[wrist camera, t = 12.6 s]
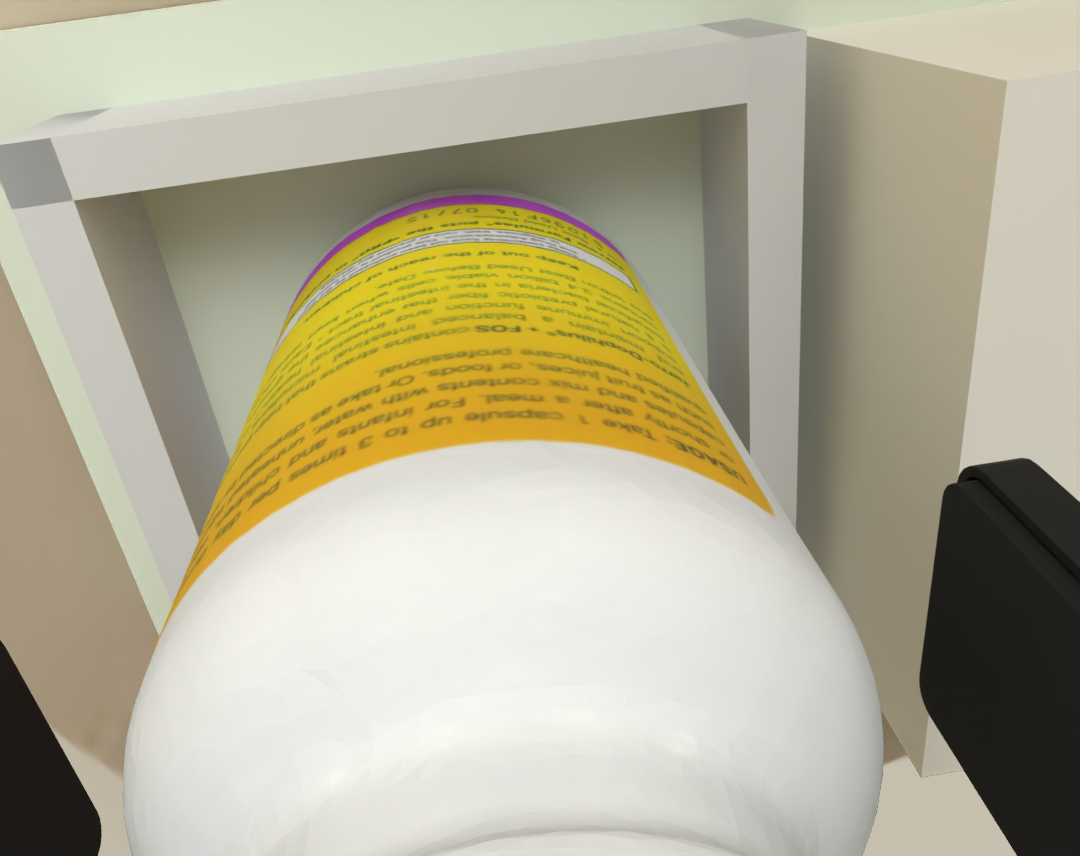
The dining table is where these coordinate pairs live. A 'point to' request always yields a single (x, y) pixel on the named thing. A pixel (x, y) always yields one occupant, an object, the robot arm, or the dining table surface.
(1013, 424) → the square frame tray
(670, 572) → the supplement bottle
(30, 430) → the dining table surface
